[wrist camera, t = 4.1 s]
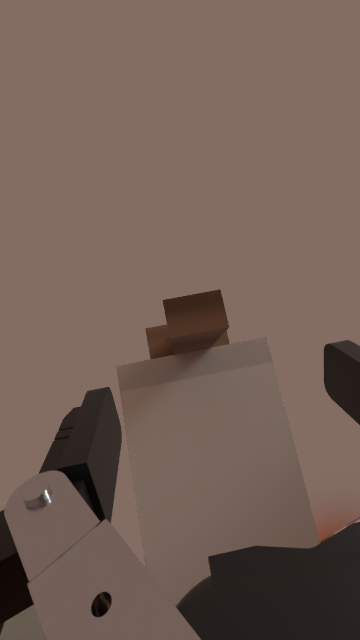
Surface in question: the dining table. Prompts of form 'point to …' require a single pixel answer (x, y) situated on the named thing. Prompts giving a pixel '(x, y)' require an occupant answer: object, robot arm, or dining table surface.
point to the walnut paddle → (190, 325)
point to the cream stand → (211, 460)
